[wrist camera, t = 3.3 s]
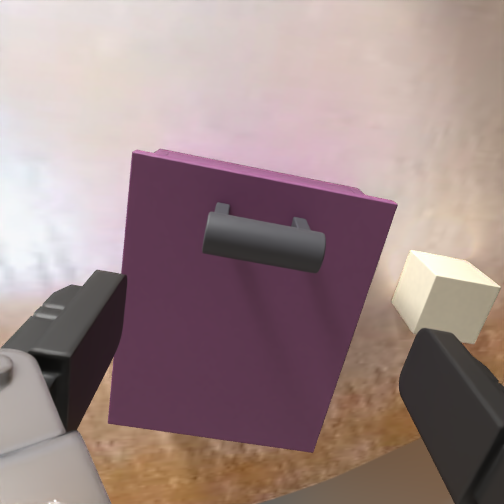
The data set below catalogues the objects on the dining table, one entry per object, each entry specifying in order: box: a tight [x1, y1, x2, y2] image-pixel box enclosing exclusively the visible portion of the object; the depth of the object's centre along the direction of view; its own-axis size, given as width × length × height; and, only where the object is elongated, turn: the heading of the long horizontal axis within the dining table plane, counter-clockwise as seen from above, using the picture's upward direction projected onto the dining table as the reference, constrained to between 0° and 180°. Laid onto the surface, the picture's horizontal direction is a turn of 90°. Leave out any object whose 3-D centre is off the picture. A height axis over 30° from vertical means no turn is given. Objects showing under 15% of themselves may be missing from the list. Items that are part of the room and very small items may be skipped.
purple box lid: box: [108, 150, 398, 453], centre depth 22 cm, size 17×14×6 cm
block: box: [391, 250, 501, 344], centre depth 28 cm, size 4×4×4 cm
